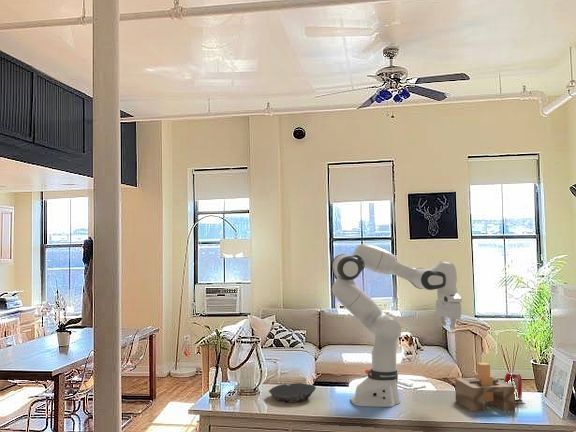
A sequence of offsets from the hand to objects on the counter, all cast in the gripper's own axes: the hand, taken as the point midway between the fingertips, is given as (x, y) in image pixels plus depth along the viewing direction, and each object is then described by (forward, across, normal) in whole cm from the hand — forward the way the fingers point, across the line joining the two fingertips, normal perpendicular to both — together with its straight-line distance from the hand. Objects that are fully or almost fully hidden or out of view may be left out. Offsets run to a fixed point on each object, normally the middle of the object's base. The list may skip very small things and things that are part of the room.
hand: (447, 327), depth 250 cm
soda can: (+33, +3, +30) cm, 45 cm away
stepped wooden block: (+30, +10, +12) cm, 34 cm away
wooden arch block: (+33, +10, +12) cm, 37 cm away
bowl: (+33, -12, -71) cm, 79 cm away
